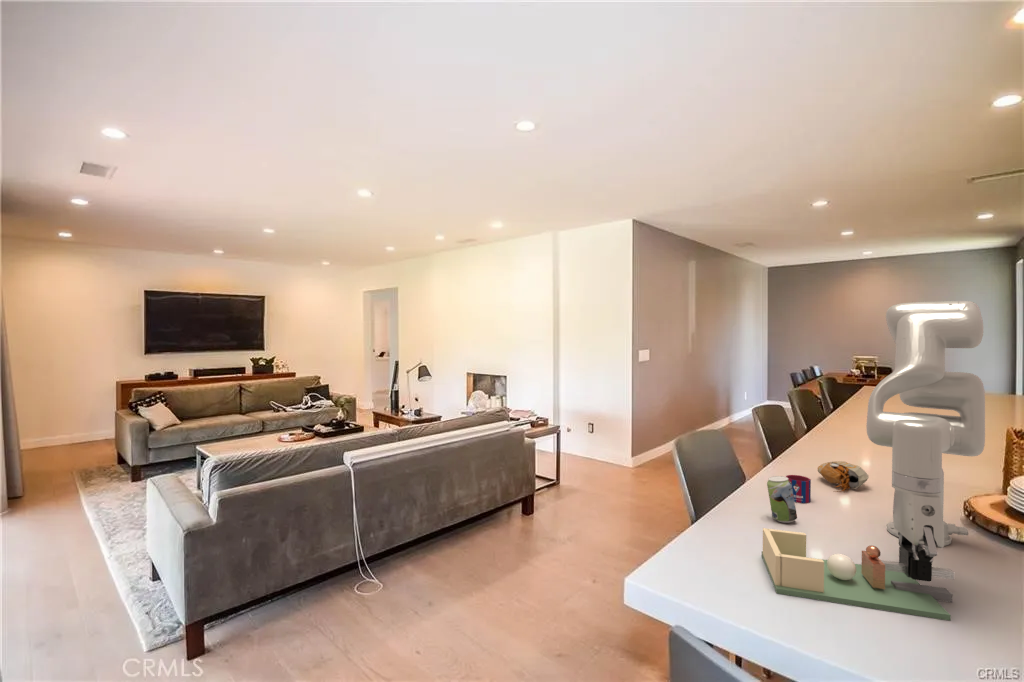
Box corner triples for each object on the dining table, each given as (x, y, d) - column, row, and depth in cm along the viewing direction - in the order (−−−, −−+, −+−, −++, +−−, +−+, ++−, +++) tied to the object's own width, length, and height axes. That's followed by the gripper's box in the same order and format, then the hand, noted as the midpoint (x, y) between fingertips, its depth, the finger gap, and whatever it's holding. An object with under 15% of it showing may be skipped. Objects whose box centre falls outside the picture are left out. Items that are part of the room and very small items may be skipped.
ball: (851, 574, 100) (851, 551, 100) (860, 586, 95) (860, 562, 95) (823, 571, 102) (823, 548, 101) (831, 582, 97) (831, 558, 97)
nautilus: (861, 501, 148) (806, 492, 158) (874, 482, 163) (823, 475, 173) (859, 476, 147) (805, 469, 158) (872, 459, 162) (821, 453, 173)
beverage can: (800, 526, 128) (801, 481, 128) (771, 523, 129) (771, 480, 129) (791, 517, 134) (792, 475, 134) (763, 515, 135) (764, 473, 135)
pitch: (926, 577, 101) (927, 545, 101) (975, 624, 85) (975, 585, 84) (761, 555, 111) (761, 525, 111) (776, 593, 95) (776, 558, 95)
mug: (783, 500, 148) (783, 478, 148) (789, 491, 155) (789, 471, 155) (808, 505, 143) (809, 482, 143) (813, 496, 151) (813, 475, 151)
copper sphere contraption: (943, 584, 95) (944, 547, 95) (960, 600, 90) (961, 561, 89) (860, 572, 100) (860, 537, 100) (871, 587, 94) (872, 549, 94)
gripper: (964, 498, 85) (962, 599, 85) (918, 472, 101) (917, 557, 101) (913, 494, 87) (911, 592, 88) (876, 469, 103) (875, 552, 103)
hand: (914, 572), depth 94 cm, fingers open, 4 cm apart
